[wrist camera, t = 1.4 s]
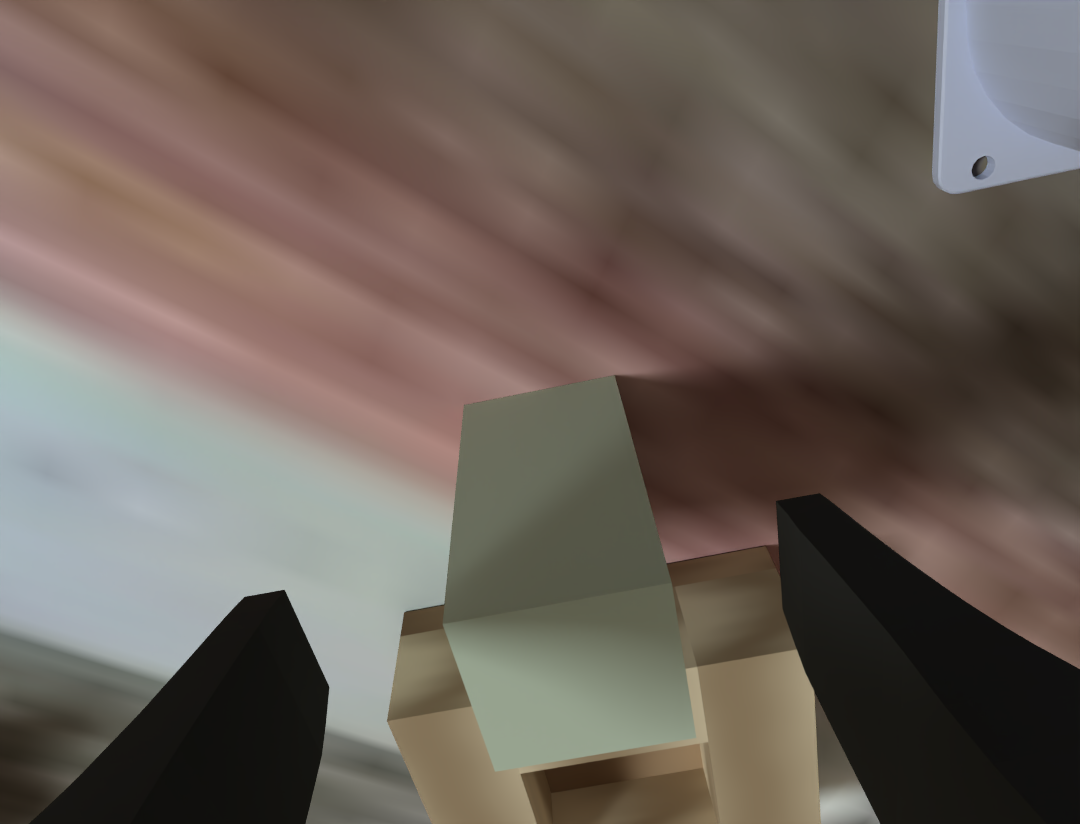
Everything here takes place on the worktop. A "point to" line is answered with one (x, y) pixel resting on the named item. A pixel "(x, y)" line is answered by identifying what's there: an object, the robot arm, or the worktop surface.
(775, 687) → the well block
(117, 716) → the worktop surface
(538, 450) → the sage peg
